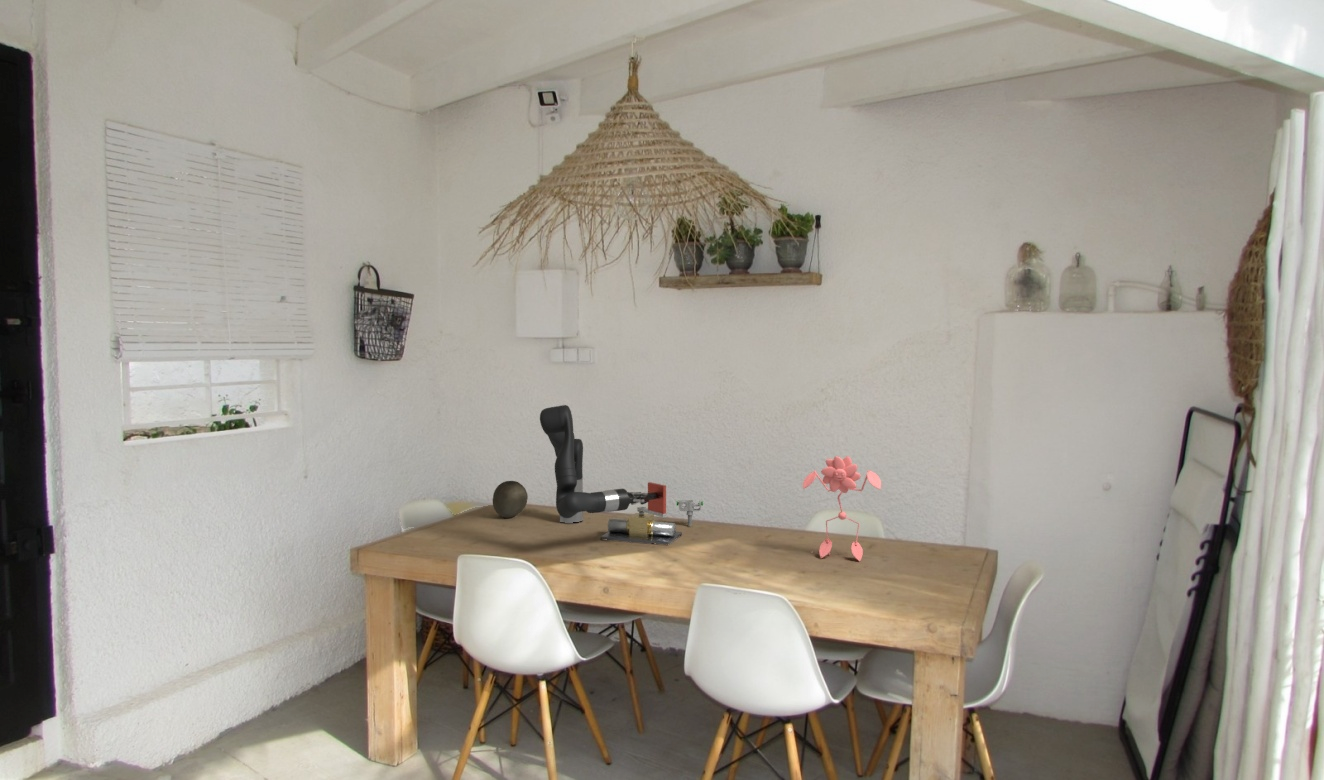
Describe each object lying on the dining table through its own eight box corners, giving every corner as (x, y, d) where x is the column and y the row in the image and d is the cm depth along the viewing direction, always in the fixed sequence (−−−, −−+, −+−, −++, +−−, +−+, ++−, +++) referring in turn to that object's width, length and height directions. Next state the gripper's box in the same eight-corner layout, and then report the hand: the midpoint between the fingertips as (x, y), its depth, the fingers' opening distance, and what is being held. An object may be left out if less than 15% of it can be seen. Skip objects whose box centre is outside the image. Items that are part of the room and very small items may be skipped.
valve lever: (661, 517, 294) (661, 486, 293) (635, 510, 306) (635, 480, 305) (668, 516, 296) (668, 485, 295) (642, 509, 308) (642, 479, 307)
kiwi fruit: (492, 522, 332) (492, 484, 331) (492, 514, 346) (492, 479, 345) (528, 520, 335) (528, 483, 334) (527, 513, 349) (526, 477, 348)
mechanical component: (702, 527, 322) (702, 501, 322) (676, 527, 322) (676, 501, 322) (702, 525, 325) (702, 500, 325) (676, 525, 325) (676, 500, 325)
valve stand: (600, 539, 303) (600, 513, 302) (617, 530, 318) (617, 505, 317) (668, 545, 294) (668, 518, 294) (681, 535, 309) (681, 509, 309)
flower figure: (805, 551, 284) (805, 450, 281) (882, 559, 275) (883, 455, 272) (795, 564, 270) (795, 458, 267) (876, 572, 261) (877, 462, 258)
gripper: (622, 492, 282) (665, 488, 292) (604, 486, 294) (646, 482, 303) (622, 514, 283) (665, 509, 292) (604, 507, 294) (646, 502, 303)
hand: (655, 495), depth 297 cm, fingers closed
